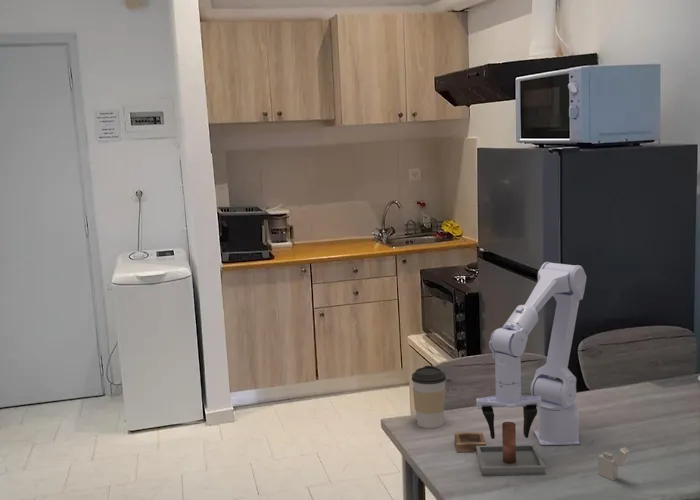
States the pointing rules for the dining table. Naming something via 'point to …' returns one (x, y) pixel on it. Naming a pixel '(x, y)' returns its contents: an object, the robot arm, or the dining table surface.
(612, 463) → the lighter
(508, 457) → the dowel
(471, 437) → the collar
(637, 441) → the dining table surface
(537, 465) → the tray
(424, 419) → the coffee cup
